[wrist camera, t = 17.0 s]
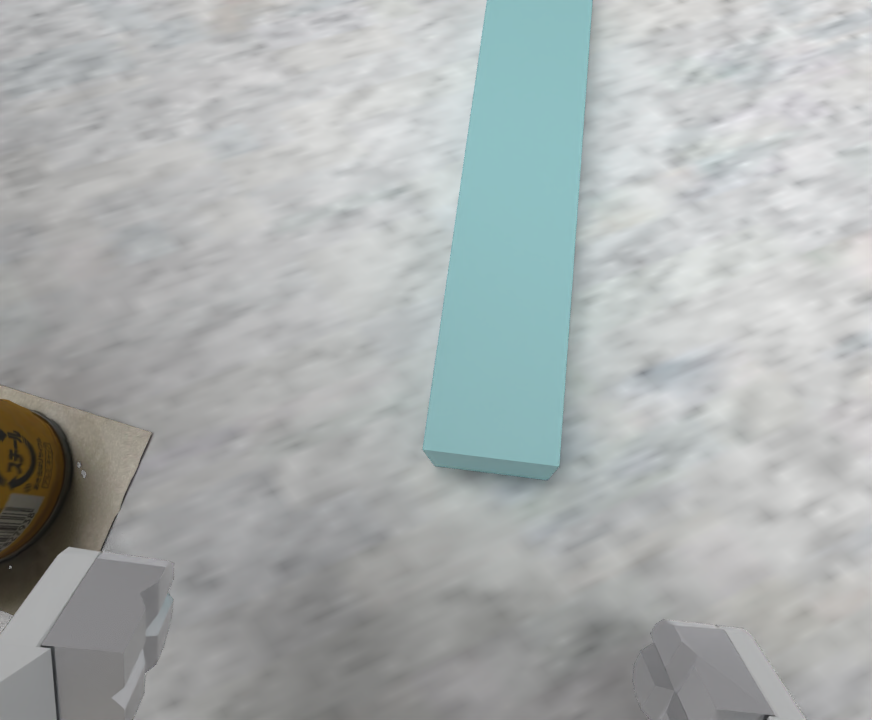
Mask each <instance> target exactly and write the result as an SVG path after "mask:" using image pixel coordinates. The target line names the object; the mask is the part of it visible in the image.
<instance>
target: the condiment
mask: <svg viewBox="0 0 872 720" xmlns="http://www.w3.org/2000/svg"><path fill="white" fill-rule="evenodd" d="M151 434H152V432H149V431H146V430H142V429H139V428H136V427H133V426H130V425H127V424H123V423H120V422H117V421H114V420H111V419H108V418H104V417H101V416H97V415H94V414H92V413H88V412H85V411H82V410H79V409H76V408H72V407H69V406H66V405H63V404H60V403H57V402H53V401H50V400H47V399H44V398H41V397H37V396H34V395H31V394H28V393H25V392H22V391H18V390H15V389H12V388H9V387H6V386H2V385H0V610H1V611H4V612H7V613H9V614H11V615H14V614H15V613H16V612H17V610H18V609H19V607H20V606H21V605H22V603H23V602H24V601H25V599H26V598H27V596H28V595H29V594H30V592H31V591H32V590H33V588H34V587H35V586H36V584H37V583H38V581H39V580H40V579H41V577H42V576H43V575H44V573H45V572H46V570H47V569H48V568H49V566H50V565H51V564H52V562H53V561H54V560H55V558H56V557H57V555H59V554H60V553H61V552H63V551H64V550H65V549H67V548H68V547H73V548H80V549H87V550H94V551H100V550H101V547H102V545H103V543H104V541H105V538H106V536H107V534H108V531H109V529H110V527H111V525H112V522H113V520H114V518H115V517H116V515H117V514H118V512H119V511H120V506H121V503H122V500H123V497H124V495H125V492H126V490H127V488H128V485H129V483H130V481H131V479H132V478H133V476H134V474H135V472H136V469H137V467H138V465H139V461H140V458H141V456H142V454H143V452H144V449H145V447H146V445H147V443H148V440H149V438H150V436H151ZM78 461H79V462H81V465H82V466H81V467H80V468H78V467H77V462H78ZM82 470H85V472H86V477H85V478H83V476H82V474H81V471H82ZM10 565H11V566H12V569H9V566H10Z"/></svg>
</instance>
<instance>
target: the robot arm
mask: <svg viewBox="0 0 872 720" xmlns="http://www.w3.org/2000/svg"><path fill="white" fill-rule="evenodd" d="M173 580H174V563H173V562H172V561H166V560H160V559H153V558H146V557H139V556H132V555H125V554H118V553H111V552H101V551H94V550H87V549H80V548H73V547H68V548H67V549H65V550H64V551H63V552H61V553H60V554H59V555H57V557H56V558H55V560H54V561H53V562H52V564H51V565H50V566H49V568H48V569H47V570H46V572H45V573H44V575H43V576H42V577H41V579H40V580H39V581H38V583H37V584H36V586H35V587H34V588H33V590H32V591H31V592H30V594H29V595H28V596H27V598H26V599H25V601H24V602H23V603H22V605H21V606H20V607H19V609H18V610H17V612H16V613H15V614H14V616H13V617H12V618H11V620H10V621H9V622H8V624H7V625H6V627H5V628H4V629H3V631H2V632H1V633H0V720H133V719H134V717H135V714H136V712H137V710H138V707H139V705H140V703H141V700H142V698H143V696H144V693H145V673H146V672H147V671H149V670H150V669H151V668H152V667H154V666H155V665H156V664H157V662H158V660H159V657H160V655H161V652H162V650H163V647H164V644H165V641H166V638H167V634H168V631H169V628H170V623H171V617H172V612H173V598H172V597H171V596H170V595H169V594H168V591H169V589H170V587H171V585H172V582H173ZM650 634H651V637H652V640H653V643H652V644H651V645H649V646H647V647H646V648H644V649H643V650H641V651H640V653H639V655H638V657H637V659H636V661H635V663H634V670H633V685H634V690H635V695H636V698H637V701H638V703H639V706H640V709H641V710H642V711H643V712H644V713H645V715H646V716H647V717H648V718H649V719H650V720H806V719H805V717H804V715H803V714H802V712H801V711H800V709H799V708H798V706H797V705H796V703H795V701H794V700H793V698H792V697H791V695H790V694H789V692H788V690H787V689H786V687H785V686H784V684H783V683H782V681H781V680H780V678H779V676H778V675H777V673H776V672H775V670H774V669H773V667H772V666H771V664H770V662H769V661H768V659H767V658H766V656H765V655H764V653H763V652H762V650H761V648H760V647H759V645H758V644H757V642H756V641H755V639H754V638H753V636H752V635H751V634H750V633H749V632H748V631H746V630H745V629H744V628H737V627H728V626H720V625H712V624H704V623H694V622H685V621H676V620H666V619H663V620H661V621H659V622H658V623H656V624H655V626H654V628H653V629H652V631H651V633H650Z"/></svg>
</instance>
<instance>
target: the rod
mask: <svg viewBox="0 0 872 720" xmlns="http://www.w3.org/2000/svg"><path fill="white" fill-rule="evenodd" d="M592 1H593V0H487V4H486V11H485V18H484V25H483V32H482V39H481V46H480V53H479V60H478V67H477V74H476V80H475V87H474V94H473V101H472V108H471V115H470V122H469V129H468V136H467V143H466V150H465V157H464V164H463V171H462V178H461V185H460V192H459V199H458V206H457V213H456V220H455V227H454V234H453V241H452V248H451V255H450V262H449V269H448V275H447V282H446V289H445V296H444V303H443V310H442V317H441V324H440V331H439V338H438V345H437V352H436V359H435V366H434V373H433V380H432V387H431V394H430V401H429V408H428V415H427V422H426V429H425V436H424V443H423V451H424V452H425V454H426V455H427V456H428V458H429V459H430V461H431V462H432V463H433V465H434V466H439V467H447V468H454V469H462V470H470V471H478V472H486V473H494V474H502V475H510V476H517V477H525V478H533V479H541V480H548V479H549V478H550V477H551V476H552V474H553V473H554V472H555V471H556V470H557V469H558V467H559V464H560V450H561V436H562V422H563V408H564V393H565V379H566V365H567V351H568V337H569V323H570V309H571V295H572V281H573V267H574V253H575V239H576V225H577V211H578V197H579V183H580V169H581V155H582V141H583V127H584V113H585V99H586V85H587V71H588V57H589V43H590V29H591V15H592Z"/></svg>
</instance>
